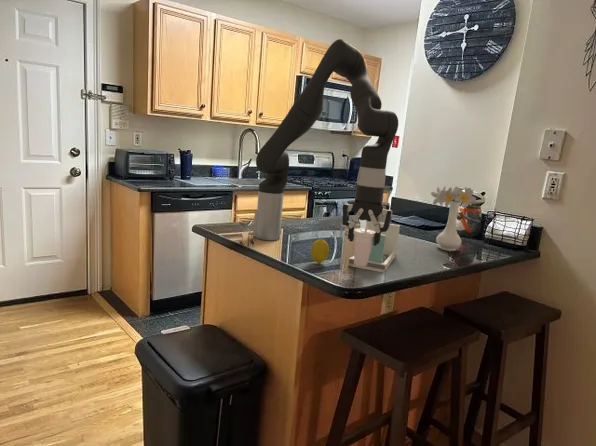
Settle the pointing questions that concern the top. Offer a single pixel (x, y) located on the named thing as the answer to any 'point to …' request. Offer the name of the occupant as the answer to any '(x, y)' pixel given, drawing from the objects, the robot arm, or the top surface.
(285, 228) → the top surface
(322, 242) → the lemon
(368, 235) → the smoothie
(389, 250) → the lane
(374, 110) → the robot arm
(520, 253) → the top surface
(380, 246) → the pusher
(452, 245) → the flower vase
